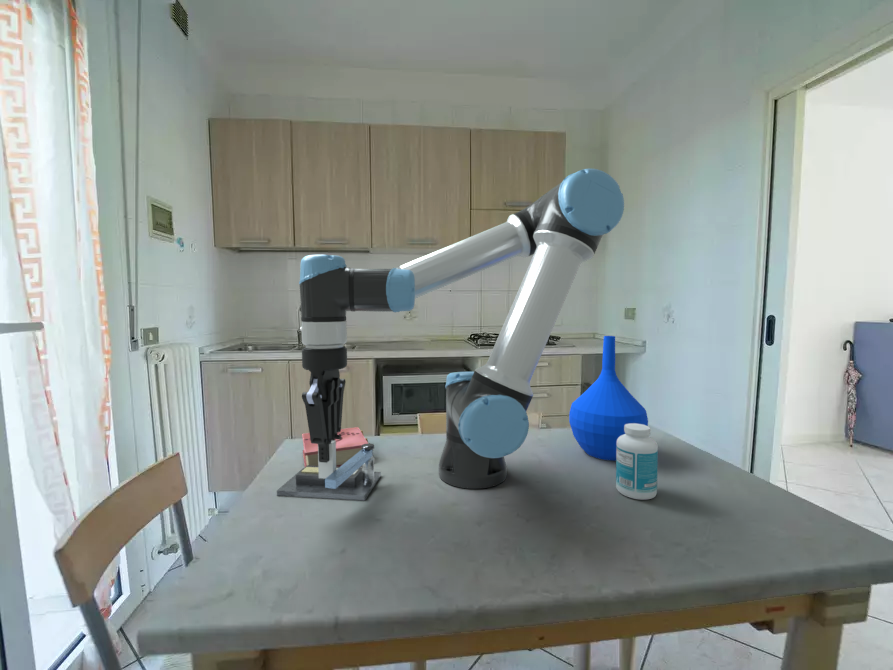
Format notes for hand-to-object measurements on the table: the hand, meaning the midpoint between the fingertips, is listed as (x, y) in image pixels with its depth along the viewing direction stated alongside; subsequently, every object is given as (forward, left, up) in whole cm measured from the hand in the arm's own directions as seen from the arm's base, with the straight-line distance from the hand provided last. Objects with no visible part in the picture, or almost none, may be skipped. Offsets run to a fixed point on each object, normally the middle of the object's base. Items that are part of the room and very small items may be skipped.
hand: (327, 476), depth 71 cm
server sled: (+4, -11, -7) cm, 14 cm away
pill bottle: (-58, -15, -7) cm, 60 cm away
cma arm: (-3, -4, 0) cm, 5 cm away
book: (+10, -27, -8) cm, 29 cm away
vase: (-58, -36, -7) cm, 69 cm away
